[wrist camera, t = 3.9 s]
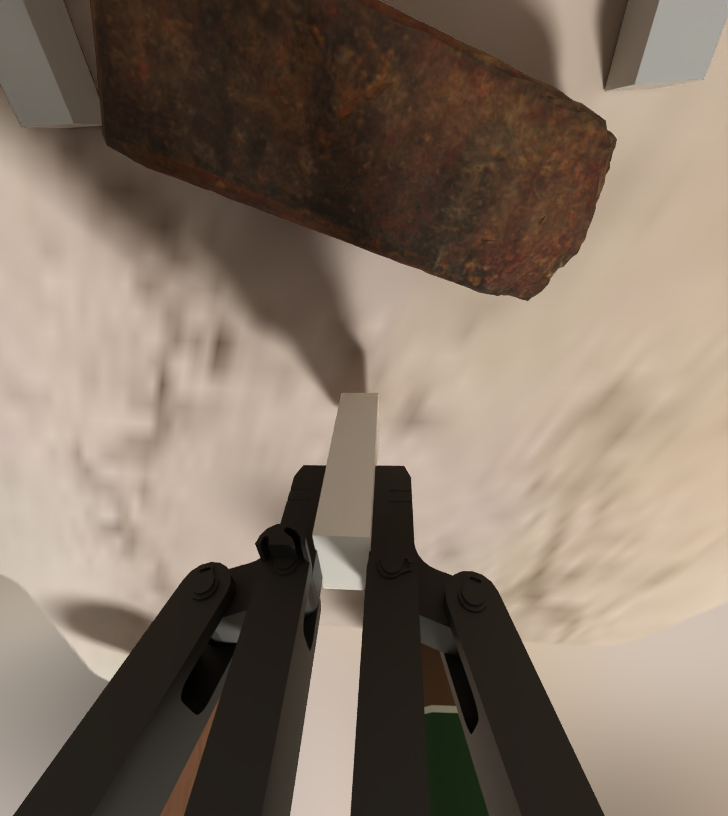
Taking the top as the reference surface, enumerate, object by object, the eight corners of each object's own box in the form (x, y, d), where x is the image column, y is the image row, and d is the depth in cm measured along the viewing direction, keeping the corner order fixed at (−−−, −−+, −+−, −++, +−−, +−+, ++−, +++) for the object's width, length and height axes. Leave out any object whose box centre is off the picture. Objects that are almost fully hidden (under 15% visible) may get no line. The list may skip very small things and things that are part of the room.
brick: (192, 149, 11) (92, 157, 7) (199, -40, 9) (59, -168, 5) (498, 270, 13) (543, 326, 9) (573, 136, 10) (675, 137, 7)
